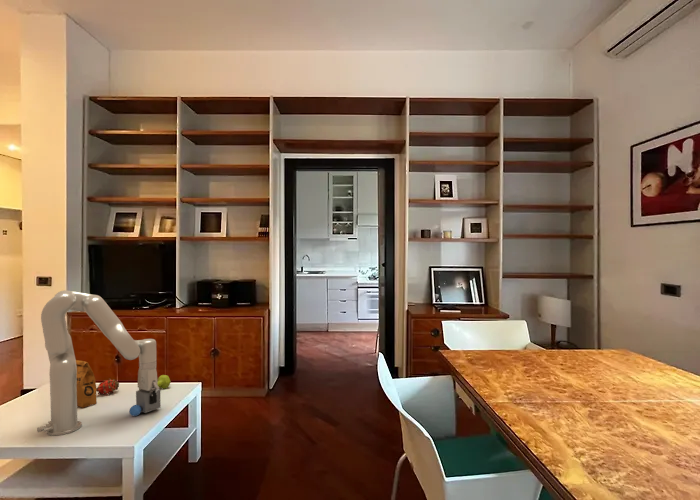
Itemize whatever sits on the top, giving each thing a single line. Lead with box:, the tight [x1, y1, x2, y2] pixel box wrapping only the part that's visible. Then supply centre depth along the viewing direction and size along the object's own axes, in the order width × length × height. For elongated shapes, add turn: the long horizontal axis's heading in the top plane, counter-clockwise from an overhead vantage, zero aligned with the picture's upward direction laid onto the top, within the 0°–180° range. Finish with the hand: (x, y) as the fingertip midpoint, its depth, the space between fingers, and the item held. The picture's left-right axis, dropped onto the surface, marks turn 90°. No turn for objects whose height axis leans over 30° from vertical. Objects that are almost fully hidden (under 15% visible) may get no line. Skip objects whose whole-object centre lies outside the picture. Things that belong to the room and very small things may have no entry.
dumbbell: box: [138, 374, 171, 390], centre depth 226 cm, size 16×8×7 cm, turn 159°
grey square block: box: [135, 388, 161, 414], centre depth 199 cm, size 8×8×9 cm
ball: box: [128, 404, 142, 417], centre depth 193 cm, size 5×5×5 cm
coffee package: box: [76, 359, 97, 409], centre depth 209 cm, size 10×12×22 cm
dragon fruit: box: [96, 378, 120, 396], centre depth 223 cm, size 8×8×12 cm
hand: (148, 401), depth 199 cm, fingers closed on grey square block, 7 cm apart
